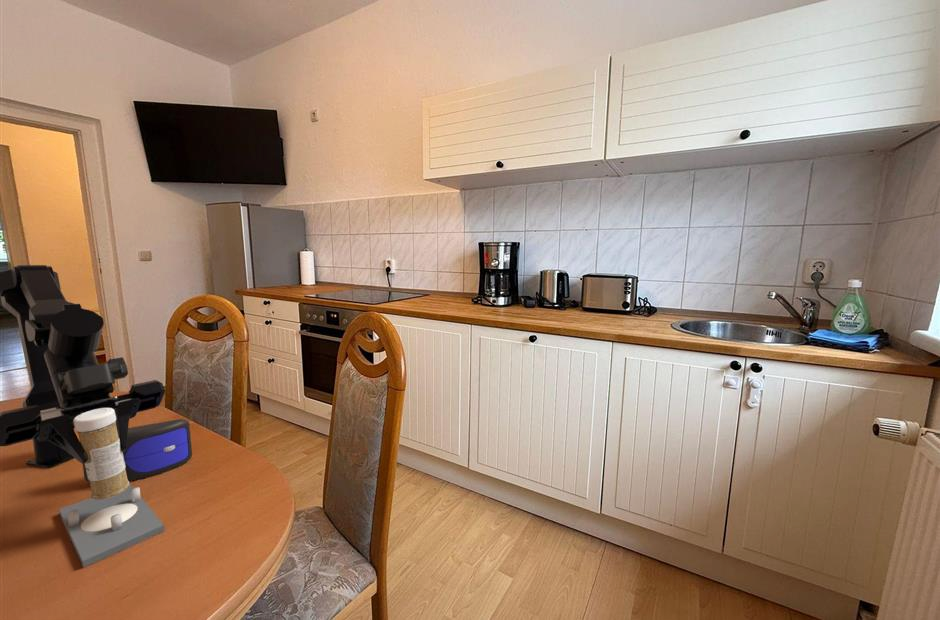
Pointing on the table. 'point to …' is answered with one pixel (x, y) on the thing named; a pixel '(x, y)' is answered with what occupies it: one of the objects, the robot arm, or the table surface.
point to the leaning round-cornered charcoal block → (155, 448)
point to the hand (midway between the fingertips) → (105, 455)
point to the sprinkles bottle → (102, 452)
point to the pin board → (109, 524)
